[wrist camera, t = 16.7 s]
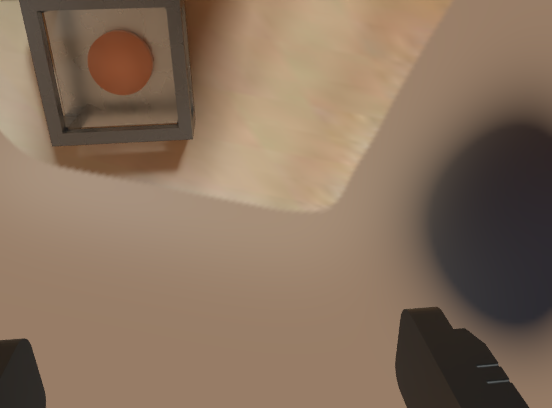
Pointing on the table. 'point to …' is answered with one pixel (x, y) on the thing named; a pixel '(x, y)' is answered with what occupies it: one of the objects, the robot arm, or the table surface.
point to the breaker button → (120, 62)
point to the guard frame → (82, 87)
